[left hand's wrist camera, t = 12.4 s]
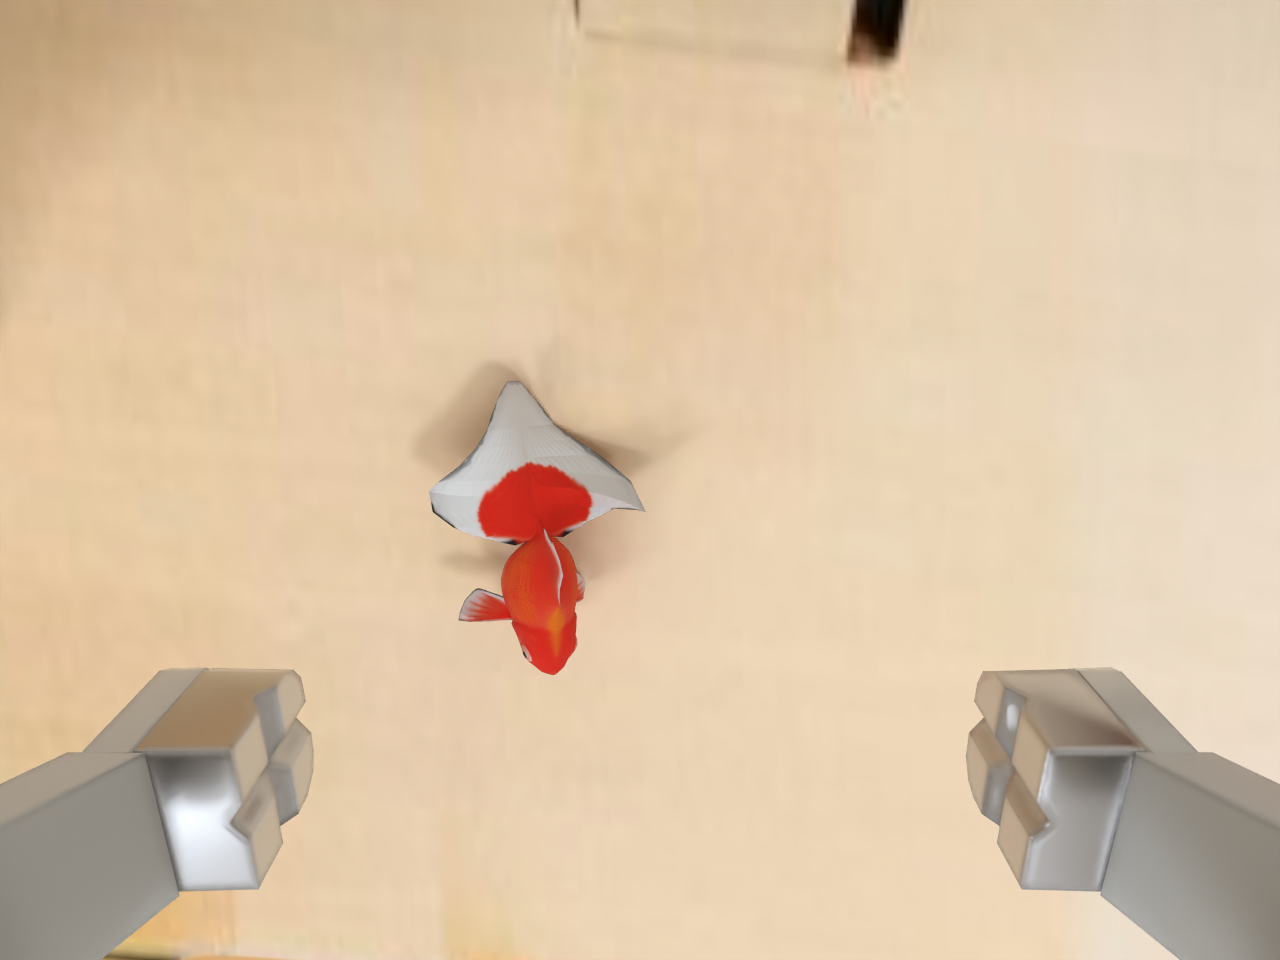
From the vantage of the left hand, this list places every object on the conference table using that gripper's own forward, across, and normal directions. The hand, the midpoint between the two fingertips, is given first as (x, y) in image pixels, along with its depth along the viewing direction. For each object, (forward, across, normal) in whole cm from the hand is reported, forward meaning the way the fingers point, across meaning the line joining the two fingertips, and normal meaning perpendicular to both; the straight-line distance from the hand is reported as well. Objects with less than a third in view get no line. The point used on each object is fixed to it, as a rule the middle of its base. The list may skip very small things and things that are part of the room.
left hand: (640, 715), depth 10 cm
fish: (+38, +6, +12) cm, 40 cm away
